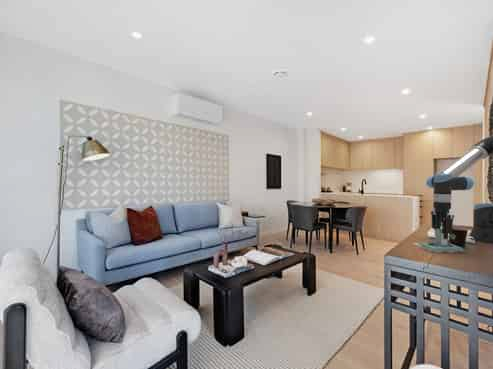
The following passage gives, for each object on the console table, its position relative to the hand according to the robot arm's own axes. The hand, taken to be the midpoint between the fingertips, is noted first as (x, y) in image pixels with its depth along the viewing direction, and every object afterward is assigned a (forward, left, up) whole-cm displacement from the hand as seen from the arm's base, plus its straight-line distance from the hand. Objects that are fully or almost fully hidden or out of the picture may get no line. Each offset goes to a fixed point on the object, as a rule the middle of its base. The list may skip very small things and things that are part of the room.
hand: (441, 243), depth 133 cm
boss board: (0, -2, -4) cm, 4 cm away
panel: (0, 0, -3) cm, 3 cm away
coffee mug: (-16, -9, -4) cm, 19 cm away
